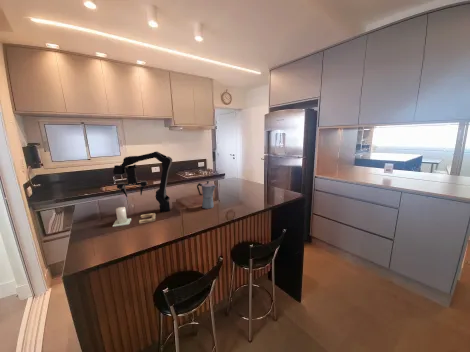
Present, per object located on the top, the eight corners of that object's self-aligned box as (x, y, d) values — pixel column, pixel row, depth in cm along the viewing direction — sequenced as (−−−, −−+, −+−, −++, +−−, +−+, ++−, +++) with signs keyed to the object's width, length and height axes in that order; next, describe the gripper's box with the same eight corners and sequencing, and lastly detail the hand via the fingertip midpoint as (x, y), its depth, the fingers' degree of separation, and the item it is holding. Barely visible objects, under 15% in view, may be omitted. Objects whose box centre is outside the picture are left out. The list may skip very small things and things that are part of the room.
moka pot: (215, 209, 145) (214, 182, 141) (195, 208, 148) (193, 182, 144) (218, 205, 154) (217, 179, 150) (200, 204, 158) (198, 179, 153)
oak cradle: (155, 214, 139) (155, 212, 138) (154, 221, 128) (154, 219, 128) (141, 216, 136) (141, 214, 136) (139, 223, 126) (139, 221, 125)
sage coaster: (131, 218, 133) (131, 218, 133) (129, 224, 125) (129, 223, 125) (115, 221, 130) (115, 220, 130) (112, 226, 122) (112, 226, 122)
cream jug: (126, 222, 126) (124, 209, 124) (116, 224, 124) (115, 210, 122) (128, 218, 133) (126, 205, 131) (119, 219, 131) (117, 206, 129)
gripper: (146, 171, 150) (149, 191, 153) (118, 173, 144) (121, 194, 147) (145, 174, 139) (147, 195, 143) (114, 176, 134) (118, 198, 137)
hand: (134, 196), depth 143 cm, fingers open, 9 cm apart
